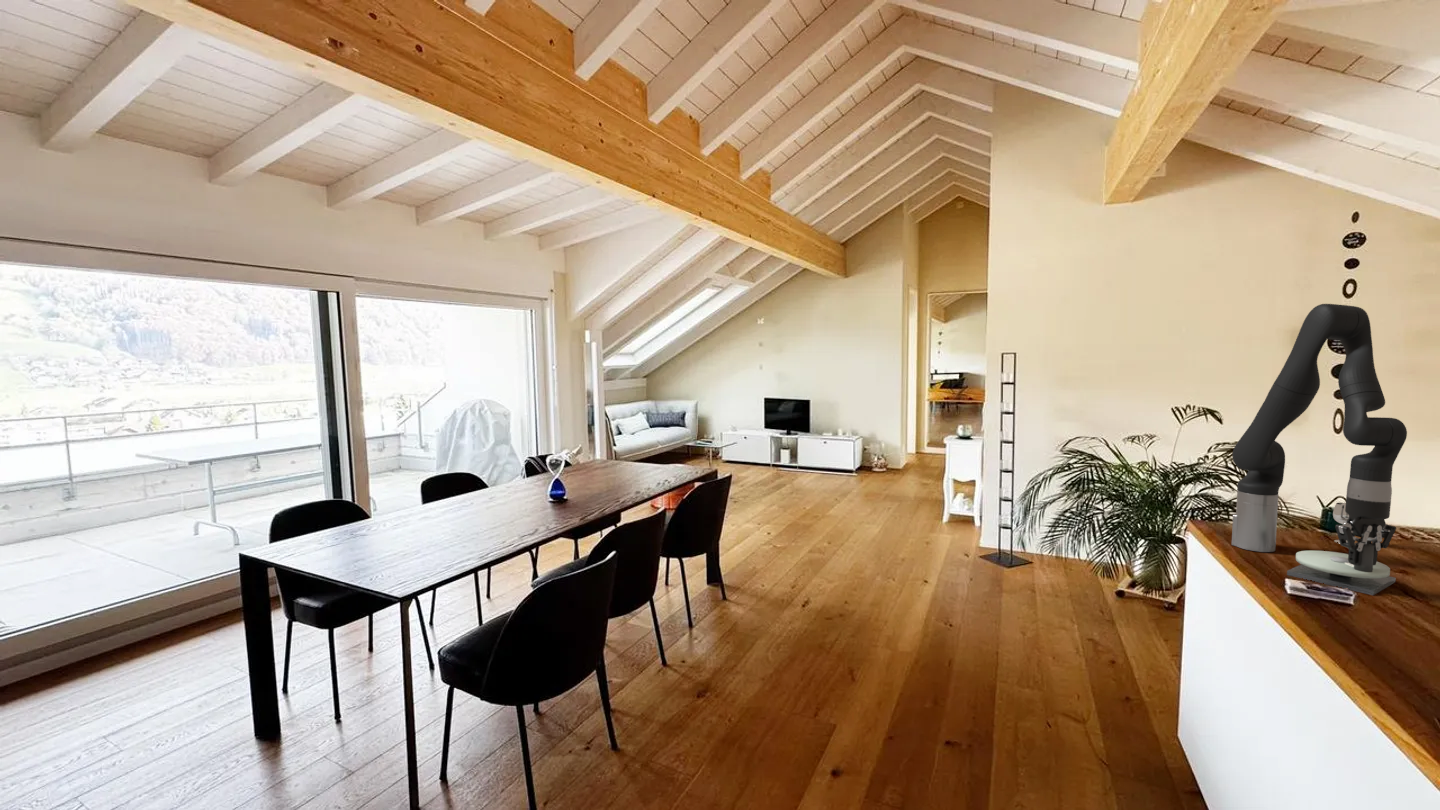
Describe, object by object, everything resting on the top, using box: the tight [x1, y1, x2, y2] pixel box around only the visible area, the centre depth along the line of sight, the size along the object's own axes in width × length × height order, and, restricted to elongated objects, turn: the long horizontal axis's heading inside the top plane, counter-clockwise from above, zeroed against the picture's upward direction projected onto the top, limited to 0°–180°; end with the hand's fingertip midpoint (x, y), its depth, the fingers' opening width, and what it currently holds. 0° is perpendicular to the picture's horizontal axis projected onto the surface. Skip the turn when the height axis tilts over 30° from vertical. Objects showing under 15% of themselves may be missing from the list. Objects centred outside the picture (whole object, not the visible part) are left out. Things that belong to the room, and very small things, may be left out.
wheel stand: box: [1286, 564, 1396, 596], centre depth 156 cm, size 16×16×3 cm
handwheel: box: [1295, 542, 1391, 578], centre depth 155 cm, size 17×17×8 cm
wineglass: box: [1332, 502, 1349, 544], centre depth 183 cm, size 6×6×12 cm
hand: (1362, 564), depth 149 cm, fingers closed on handwheel, 3 cm apart
